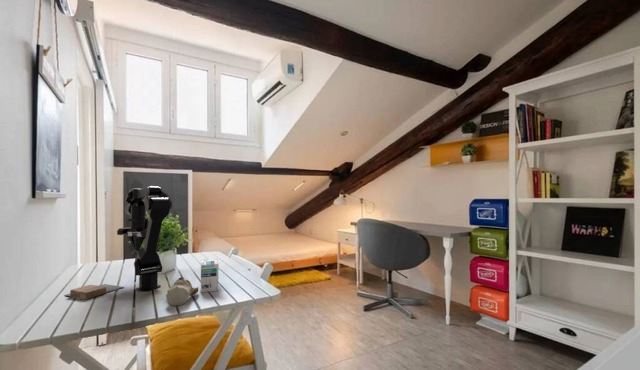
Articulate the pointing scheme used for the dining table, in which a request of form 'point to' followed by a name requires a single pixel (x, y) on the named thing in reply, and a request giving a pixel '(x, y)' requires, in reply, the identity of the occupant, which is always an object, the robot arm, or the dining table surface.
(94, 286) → the walnut tile
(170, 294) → the ceramic sculpture
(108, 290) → the mat
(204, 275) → the light bulb box
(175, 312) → the dining table surface
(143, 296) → the dining table surface
